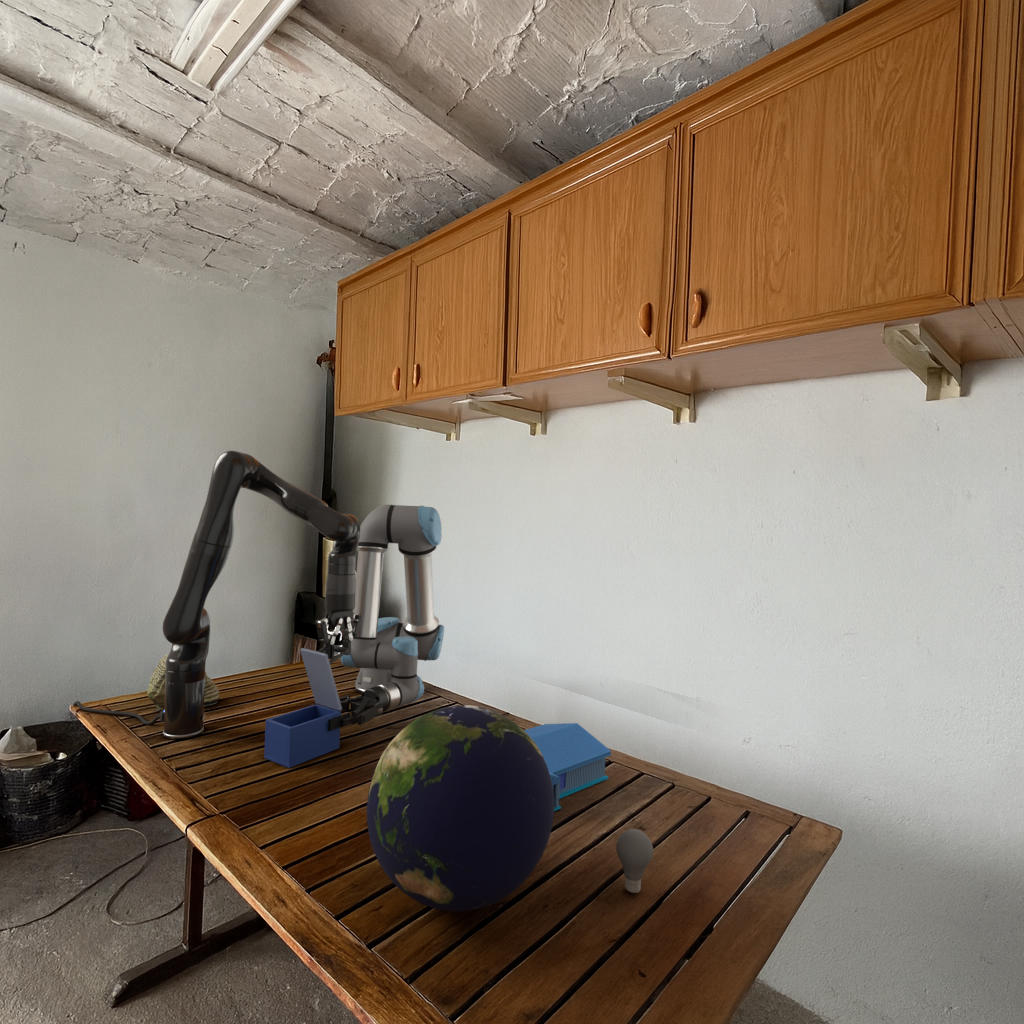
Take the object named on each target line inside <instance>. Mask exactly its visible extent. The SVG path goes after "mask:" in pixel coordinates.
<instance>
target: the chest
mask: <svg viewBox="0 0 1024 1024" xmlns="http://www.w3.org/2000/svg"><path fill="white" fill-rule="evenodd" d="M341 715H342V711H337V710H334V709H331V708H327V707H324V706H321V705H318V704H317V703H315V704H313V705H309V706H305V707H303V708H300V709H295V710H292V711H289V712H287V713H283V714H280V715H277V716H276V715H275V716H274V717H270V718H267V719H265V726H264V727H265V729H264V730H265V731H264V756H263V758H264V759H266V760H268V761H270V762H273V763H275V764H278V765H280V766H283V767H285V768H288V769H290V768H293V767H295V766H297V765H300V764H303V763H306V762H309V761H310V760H313V759H315V758H318V757H320V756H321V757H322V756H324V755H326V754H328V753H331V752H334V751H336V750H339V749H340V745H341V744H340V741H341V727H340V728H338V729H335V730H332V731H328V720H329V719H332V718H335V717H338V716H341Z"/></svg>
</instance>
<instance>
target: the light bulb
mask: <svg viewBox="0 0 1024 1024" xmlns="http://www.w3.org/2000/svg"><path fill="white" fill-rule="evenodd" d="M615 849H616V854H617V857H618V859H619V861H620V863H621V865H622V867H623V873H624V874H623V875H624V876H625V878H624V888H625V890H627V891H628V892H630V893H634V894H635V893H639V892H640V891H641V889H642V887H641V886H642V879H643V877H644V875H645V871H646V868H647V867H648V866H649V864H650V863H651V861H652V859H653V855H654V847H653V843H652V841H651V838H649V836H648V835H647V834H646V833H645V832H643V831H642V830H641V829H636V828H629V829H627V830H625V831H623V832H622V833H621V834H620V835H619V837H618V839H617V841H616V847H615Z"/></svg>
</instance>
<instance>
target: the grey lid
mask: <svg viewBox="0 0 1024 1024" xmlns="http://www.w3.org/2000/svg"><path fill="white" fill-rule="evenodd" d="M299 650H300V654H301V659H302V661H303V665H304V668H305V672H306V676H307V678H308V682H309V687H310V689H311V692H312V696H313V700H314V703H315V704H320V705H323V706H326V707H330V708H333V709H336V710H339V711H340V710H341V709H342V707H341V703H340V699H339V697H340V696H339V692H338V689H337V685H336V681H335V678H334V674H333V670H332V666H331V665H332V664H333V663H334V662H336V661H337V660H339V659H341V656H343V655H344V654H349V652H350V650H349V648H344V647H342V646H341V645H336V644H334V653H338V654H337V655H336V656H335V655H334V658H332V659H328V655H327V654H325V644H323V647H321V648H320V649H319V650H313V649H308V648H303V647H302V648H300V649H299ZM340 712H341V711H340Z"/></svg>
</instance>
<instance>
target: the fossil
mask: <svg viewBox="0 0 1024 1024" xmlns="http://www.w3.org/2000/svg"><path fill="white" fill-rule="evenodd" d="M168 655H169V654H165V655H164V656H163V657H162V658H161V659H160V660H159V662H158V663H157V666H156V667H155V669H154V670H153V672H152V675H151V677H150V680H149V684H148V688H147V697H148V699H149V700H150V701H152V703H153V704H154V706H155V711H158V712H160V711H164V705H165V674H166V659H167V657H168ZM220 698H221V696H220V690H219V688H218V686H217V685H216V683H215V682H214V681H213V679H212V678H211V677H209V675H208V674H207V672H206V671H205V693H204V707H207V706H213V705H215V704H217V703H218V701H219V699H220Z"/></svg>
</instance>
